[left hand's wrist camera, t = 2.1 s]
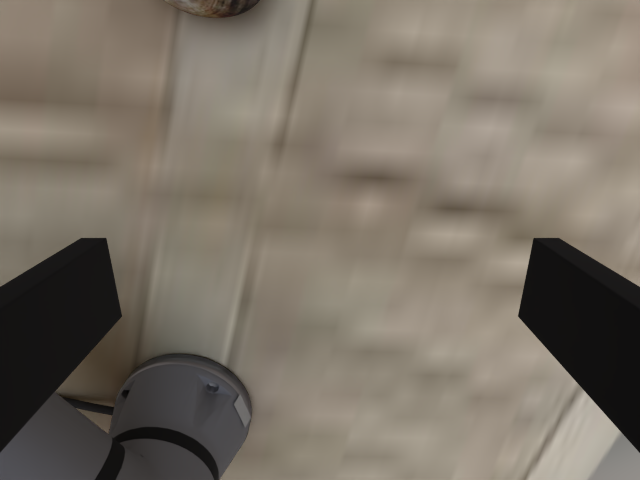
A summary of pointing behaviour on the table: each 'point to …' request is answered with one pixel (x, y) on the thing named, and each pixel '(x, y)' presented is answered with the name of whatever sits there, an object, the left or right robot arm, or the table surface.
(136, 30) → the table surface
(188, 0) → the seashell
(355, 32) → the table surface
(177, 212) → the table surface
